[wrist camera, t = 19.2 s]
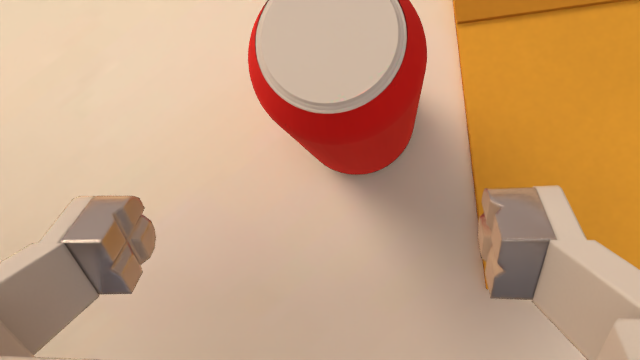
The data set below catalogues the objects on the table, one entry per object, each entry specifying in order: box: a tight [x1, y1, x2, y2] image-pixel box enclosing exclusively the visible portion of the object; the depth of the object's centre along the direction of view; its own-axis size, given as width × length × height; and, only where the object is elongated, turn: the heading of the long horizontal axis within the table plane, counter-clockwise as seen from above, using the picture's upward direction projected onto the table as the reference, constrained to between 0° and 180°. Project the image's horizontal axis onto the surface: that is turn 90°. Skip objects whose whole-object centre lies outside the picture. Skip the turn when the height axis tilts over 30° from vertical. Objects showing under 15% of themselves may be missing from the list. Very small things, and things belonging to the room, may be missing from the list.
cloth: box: [453, 0, 640, 290], centre depth 23 cm, size 14×19×1 cm
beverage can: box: [248, 0, 427, 174], centre depth 20 cm, size 6×6×12 cm
